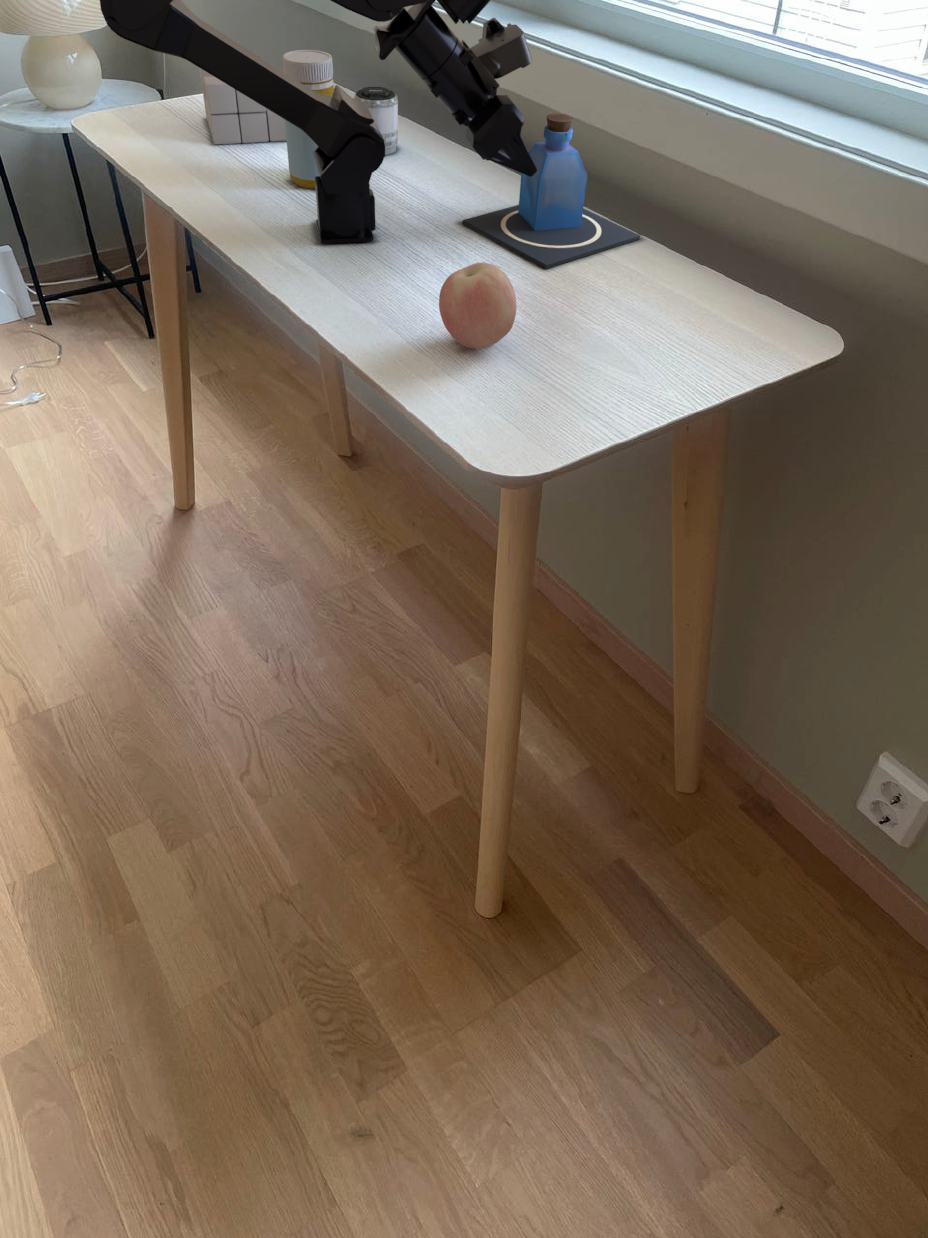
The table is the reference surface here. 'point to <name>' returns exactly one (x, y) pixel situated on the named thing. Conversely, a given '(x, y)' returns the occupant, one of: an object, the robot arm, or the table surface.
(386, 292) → the table surface
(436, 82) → the robot arm
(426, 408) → the table surface
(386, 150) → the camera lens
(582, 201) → the perfume bottle
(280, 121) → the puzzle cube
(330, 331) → the table surface
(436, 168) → the table surface
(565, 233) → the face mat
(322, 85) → the bottle
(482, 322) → the apple
